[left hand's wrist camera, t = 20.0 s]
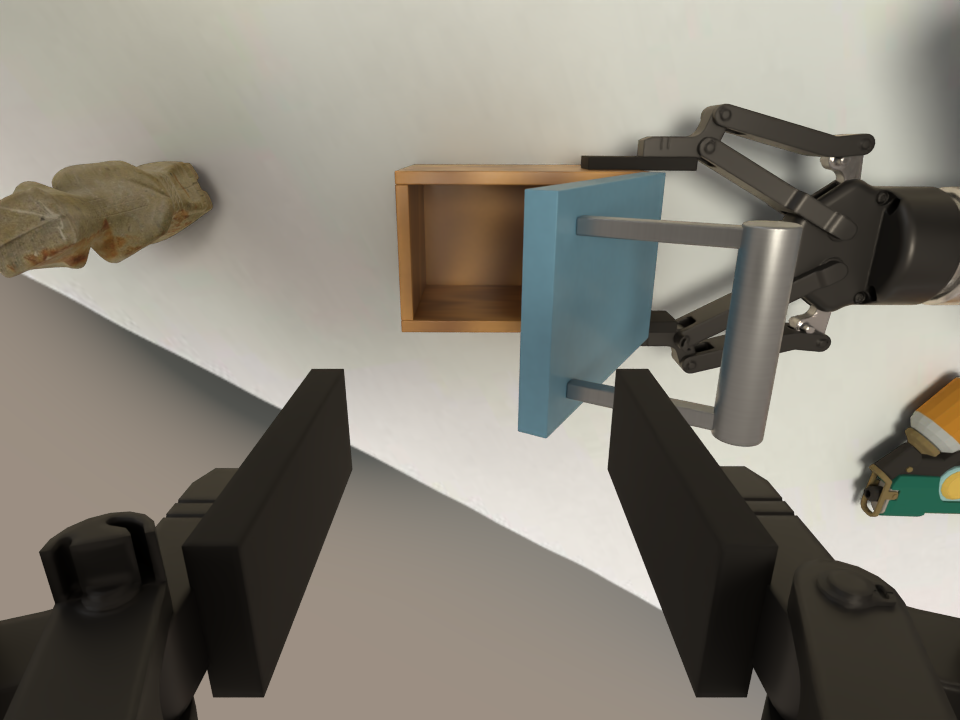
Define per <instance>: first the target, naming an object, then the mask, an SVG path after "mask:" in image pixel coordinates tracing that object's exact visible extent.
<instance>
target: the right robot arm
mask: <svg viewBox="0 0 960 720" xmlns="http://www.w3.org/2000/svg"><path fill="white" fill-rule="evenodd" d="M725 132H727V133H730V134H734V135H737V136H740V137H744V138H747V139H751V140H754V141H757V142H761V143H764V144H767V145H771V146H774V147H778V148H781V149H784V150H788V151H791V152H795V153H798V154H802V155H806V156H817V157H821V158H820V162H821V164H822V166H823V168H825V169H828V170H832V171H833V172H834V173H835V175H836V180H834V181H833V182H831V183H830V184H828V185H827V186H825V187H823V188H822V189H820V190H819V191H817V192H816V193H814V194H813V195H811V196H810V195H809V194H807V193H805V192H802V191H800V190H798V189H796V188H794V187H793V186H791V185H790V184H788V183H786V182H785V181H783V180H782V179H780V178H778V177H777V176H775V175H774V174H772V173H770V172H769V171H767V170H766V169H764V168H762V167H761V166H759V165H758V164H756V163H754V162H753V161H751V160H750V159H748V158H747V157H745V156H743V155H742V154H740V153H739V152H737V151H735V150H734V149H732V148H731V147H729V146H727V145H726V144H724V143H723V142H721V139H722V137H723V135H724V133H725ZM874 146H875V139H874V137H873V136H872V135H870V134H839V135H831V134H827V133H824V132H821V131H817V130H814V129H811V128H807V127H804V126H801V125H797V124H794V123H791V122H787V121H784V120H781V119H777V118H774V117H771V116H767V115H764V114H761V113H757V112H754V111H751V110H747V109H744V108H741V107H737V106H734V105H730V104H721V105H715V106H709V107H707V108H705V109H704V110H703V112H702V114H701V121H700V124H699V126H698V128H697V130H696V131H695V132H694V133H693V134H692V135H690V136H687V137H645V138H642V139H640V140H639V141H638V152H637V156H582V157H581V168H583V169H587V170H659V171H696V170H697V162H698V161H699V162H701V163H702V164H704V165H706V166H707V167H709V168H711V169H712V170H714V171H715V172H717V173H719V174H720V175H722V176H724V177H725V178H727V179H728V180H730V181H732V182H733V183H735V184H737V185H738V186H740V187H741V188H743V189H745V190H746V191H748V192H750V193H751V194H753V195H754V196H756V197H758V198H759V199H761V200H763V201H764V202H766V203H767V204H768V205H769V206H770V207H772V208H773V209H775V210H777V211H778V212H780V213H782V214H783V215H785V216H784V218H783V220H779V221H783V222H791V223H797V224H800V225H802V227H803V230H802V235H801V240H800V246H799V251H798V256H797V261H796V267H795V272H794V277H793V283H792V288H791V293H790V299H789V303H791V302H793V301H795V300H797V299H799V298H801V299H803V300H804V301H805V302H806V303H807V304H809V305H810V308H809V310H808V311H807V312H806V313H804V314H802V315H796V316H793V317H791V318H790V319H789V323H785V325H784V331H783V336H782V341H781V346H780V352H779V353H782V352H786V351H790V350H805V351H816V352H822V351H825V350H827V349H828V348H829V346H830V344H831V339H830V337H828V336H827V335H825V330H826V327H827V324H828V321H829V318H830V314H831V312H833V311H836V310H838V309H840V308H842V307H845V306H848V305H917V304H921V303H922V304H924V305H960V187H941V188H936V187H903V186H871V185H869V184H867V183H866V182H864V181H863V180H860V178H861V170H862V163H863V155H866V154H868V153H870V152H871V151H872V150H873V148H874ZM731 295H732V293H730V294H727V295H725V296H723V297H721V298H719V299H717V300H715V301H713V302H711V303H709V304H707V305H705V306H703V307H701V308H699V309H697V310H695V311H692V312H690V313H688V314H686V315H684V316H682V317H680V318H678V319H676V320H675V319H674V318H673V317H672V316H671V315H670V314H669V313H668V312H666V311H651V315H650V325H649V334H648V338H647V339H646V340H645V341H644V342H643V343H642V344H641V345H640V346H670V347H671V349H672V358H673V359H674V360H675V361H676V362H677V364H678V365H679V366H680V367H681V368H682V369H683V370H684V371H685V372H686V373H695V372H700V371H704V370H708V369H713V368H717V367H721V361H722V354H723V348H724V341H725V335H721V336H717V337H713V338H709V337H712V336H714V335H716V334H718V333H720V332H722V331H724V330H726V328H727V322H728V315H729V308H730V302H731ZM707 338H709V339H707Z"/></svg>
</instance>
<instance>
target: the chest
mask: <svg viewBox="0 0 960 720" xmlns="http://www.w3.org/2000/svg"><path fill="white" fill-rule="evenodd" d="M640 172H648V171H642V170H587V169H583V168H581V165H471V164H414V165H411V166H408V167H406V168H403V169H400V170H397V171H395V184H396V185H395V191H396V213H397V236H398V258H399V281H400V303H401V320H402V321H401V326H402V332H521V305H522V270H523V234H524V199H525V189H530V188H537V187H544V186H551V185H557V184H564V183H571V182H578V181H585V180H592V179H599V178H606V177H613V176H619V175H626V174H633V173H640Z"/></svg>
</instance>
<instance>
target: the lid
mask: <svg viewBox="0 0 960 720" xmlns="http://www.w3.org/2000/svg"><path fill="white" fill-rule="evenodd" d="M664 184H665V173H659V172H640V173H633V174H626V175H619V176H613V177H606V178H599V179H592V180H585V181H578V182H571V183H564V184H557V185H551V186H544V187H537V188H530V189H525V199H524V234H523V270H522V305H521V341H520V377H519V412H518V431H520V432H523V433H527V434H531V435H535V436H539V437H543V438H547V437H548V436H549V435H550V434H551V433H552V432H553V431H554V430H555V429H556V428H557V427H558V426H559V425H560V424H561V423H562V422H564V421H565V420H566V419H567V418H568V417H569V416H570V415H571V414H572V413H573V412H574V411H575V410H576V409H577V408H578V407H579V406H580V405H581V404H582V403H583V402H586V403H591V404H595V405H600V406H604V407H609V408H613V401H614V389H615V387H613V386H608V385H603V384H602V383H603V382H604V381H605V380H606V379H607V378H608V377H609V376H610V375H611V374H612V373H613V372H614V371H615V370H616V369H617V368H618V367H619V366H620V365H621V364H622V363H623V362H624V361H625V360H626V359H627V358H628V357H629V356H630V355H631V354H632V353H633V352H634V351H635V350H636V349H637V348H638V347H639V346H640V345H641V344H642V343H643V342H644V341H645V340H646V339H647V338H648V334H649V325H650V315H651V306H652V297H653V287H654V278H655V268H656V259H657V249H658V242H663V243H675V244H688V245H700V246H712V247H724V248H736V249H739V250H738V256H737V263H736V269H735V276H734V282H733V289H732V295H731V302H730V308H729V315H728V322H727V328H726V335H725V341H724V348H723V354H722V361H721V367H720V374H719V380H718V387H717V393H716V400H715V406H714V407H712V406H707V405H702V404H697V403H692V402H687V401H683V400H678V399H673V398H670V399H671V401H672V402H673V403H674V405H675V406H676V408H677V409H678V410H679V412H680V413H681V414H682V416H683V417H684V418H685V420H686V421H687V422H688V424H689V425H690V426H695V427H700V428H704V429H709V430H711V432H712V434H713V436H714V437H715V438H717V439H718V440H720V441H722V442H725V443H727V444H731V445H735V446H743V447H749V446H756V445H758V444H760V443H761V442H762V440H763V437H764V431H765V426H766V421H767V415H768V410H769V405H770V400H771V394H772V389H773V384H774V378H775V373H776V368H777V362H778V357H779V352H780V346H781V341H782V336H783V331H784V325H785V320H786V315H787V309H788V304H789V299H790V293H791V288H792V283H793V277H794V272H795V267H796V261H797V256H798V251H799V246H800V240H801V235H802V230H803V227H802V225H800V224H797V223H791V222H783V221H765V220H757V221H747V222H744V223H743V225H729V224H714V223H698V222H683V221H667V220H661V212H662V202H663V193H664Z"/></svg>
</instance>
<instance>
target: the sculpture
mask: <svg viewBox="0 0 960 720" xmlns="http://www.w3.org/2000/svg"><path fill="white" fill-rule="evenodd" d="M198 178H199V177H198V174H197V173H196V171H195V170H194V168H193V167H192V165H191V164H190V163H183V162H177V161H164V162H155V163H148V164H144V165H140V166H137V167H135V166H133V165H131V164H129V163H126V162H124V161H107V162H100V163H92V164H81V165H74V166H69V167H66V168H64V169H62V170H60V171H59V172H58V173H56V175H55V176H54V177H53V180H52V186H53V188H51V187H48V186H45V185H43V184H40V183H37V182H31V181H27V182H23V183H21V184H19V185H18V186H17V187H16V189H15V191H14V193H13V194H12V195H10V196H7V197H5V198H3V199H1V200H0V273H1V274H2V275H3V276H5V277H7V278H11V277H14V276H17V275H19V274H21V273H23V272H26V271H28V270H32V269H41V268H53V267H69V268H74V269H79V268H82V267H84V265H85V264H86V261H87V258H88V254H89V250H90V247H92V248H93V249H94V250H95V251H96V252H97V253H98V254H99V255H100V256H101V257H102V258H103V259H105V260H106V261H108V262H111V263H118V262H121V261H122V260H124V259H126V258H128V257H129V256H131V255H133V254H134V253H136V252H138V251H139V250H141V249H142V248H144V247H146V246H148V245H149V244H153V243H157V242H160V241H163V240H165V239H167V238H169V237H171V236H173V235H175V234H176V233H178V232H180V231H181V230H183V229H184V228H186V227H187V226H189V225H190V224H192V223H193V222H194V221H196V220H197V219H198V218H199V217H201V216H203V215H204V214H205V213H207V212H208V211H210V210H211V209H212V207H213V205H212V202H211V200H210V197H209V195H208V193H207V192H206V191H203V190H202V189H201V187H200V185H199V183H198V181H197V180H198Z"/></svg>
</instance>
